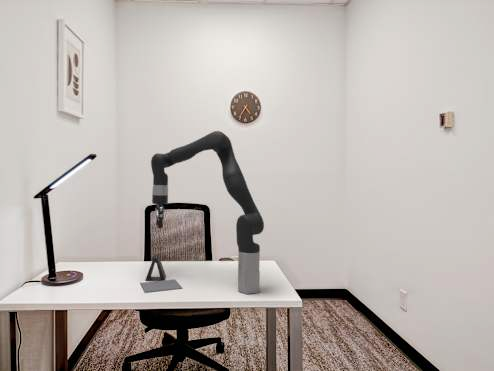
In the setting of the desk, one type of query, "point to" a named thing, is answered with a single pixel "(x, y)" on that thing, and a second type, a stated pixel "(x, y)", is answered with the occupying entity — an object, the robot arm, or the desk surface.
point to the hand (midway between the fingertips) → (159, 226)
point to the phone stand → (160, 269)
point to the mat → (160, 285)
